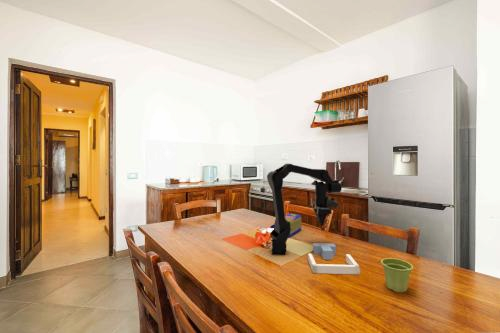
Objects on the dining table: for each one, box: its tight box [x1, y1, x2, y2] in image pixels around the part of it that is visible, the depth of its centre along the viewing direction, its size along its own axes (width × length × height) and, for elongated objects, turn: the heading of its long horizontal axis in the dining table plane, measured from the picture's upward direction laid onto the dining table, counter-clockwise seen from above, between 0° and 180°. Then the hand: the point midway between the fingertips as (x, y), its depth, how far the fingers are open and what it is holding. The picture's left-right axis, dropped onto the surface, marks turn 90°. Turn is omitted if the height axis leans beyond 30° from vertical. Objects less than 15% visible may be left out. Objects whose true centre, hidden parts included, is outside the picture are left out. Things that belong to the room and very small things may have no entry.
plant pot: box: [380, 257, 414, 293], centre depth 84 cm, size 9×9×9 cm
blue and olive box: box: [270, 213, 303, 238], centre depth 148 cm, size 10×25×10 cm, turn 145°
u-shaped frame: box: [307, 253, 361, 275], centre depth 102 cm, size 18×12×3 cm
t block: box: [312, 242, 337, 261], centre depth 114 cm, size 10×10×4 cm
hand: (321, 224), depth 124 cm, fingers open, 6 cm apart
